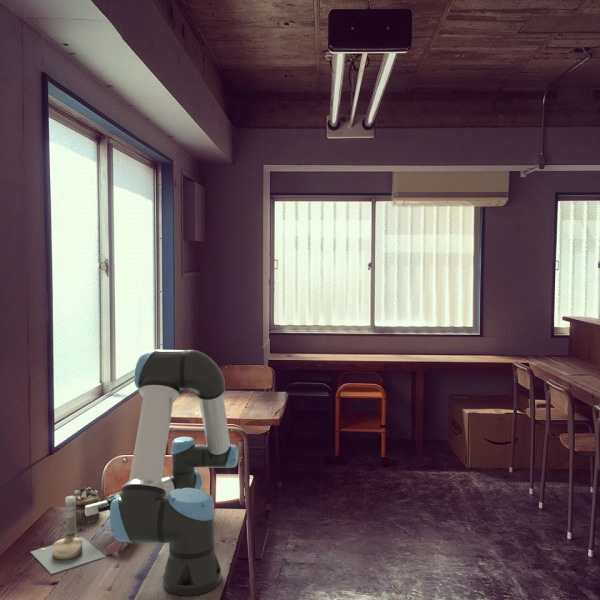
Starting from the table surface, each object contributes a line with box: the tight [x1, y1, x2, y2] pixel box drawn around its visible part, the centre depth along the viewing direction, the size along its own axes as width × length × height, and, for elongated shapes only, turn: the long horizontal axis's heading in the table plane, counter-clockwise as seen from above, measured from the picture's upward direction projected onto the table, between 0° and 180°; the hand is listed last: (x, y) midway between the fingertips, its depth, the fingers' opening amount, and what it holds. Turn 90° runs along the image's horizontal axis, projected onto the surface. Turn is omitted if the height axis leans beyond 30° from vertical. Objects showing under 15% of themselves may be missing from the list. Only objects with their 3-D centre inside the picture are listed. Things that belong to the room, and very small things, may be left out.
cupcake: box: [73, 485, 101, 524], centre depth 199 cm, size 10×10×10 cm
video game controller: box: [104, 538, 131, 555], centre depth 178 cm, size 10×5×7 cm, turn 169°
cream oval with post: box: [52, 495, 82, 560], centre depth 176 cm, size 12×8×14 cm
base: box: [30, 536, 106, 576], centre depth 174 cm, size 17×15×1 cm
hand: (86, 510), depth 184 cm, fingers closed
